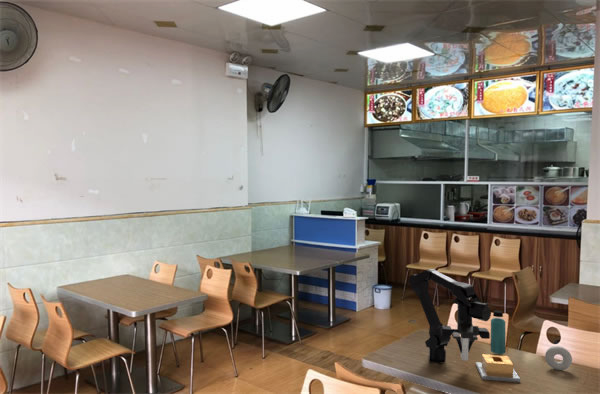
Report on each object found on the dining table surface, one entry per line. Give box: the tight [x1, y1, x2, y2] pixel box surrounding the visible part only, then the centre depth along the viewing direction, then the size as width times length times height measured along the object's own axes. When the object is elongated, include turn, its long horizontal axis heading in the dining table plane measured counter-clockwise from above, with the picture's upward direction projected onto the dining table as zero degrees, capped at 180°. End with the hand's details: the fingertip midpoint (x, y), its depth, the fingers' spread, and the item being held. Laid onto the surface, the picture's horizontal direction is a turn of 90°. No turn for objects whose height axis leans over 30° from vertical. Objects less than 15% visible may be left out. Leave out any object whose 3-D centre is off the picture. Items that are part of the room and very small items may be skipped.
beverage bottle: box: [489, 310, 507, 355], centre depth 209 cm, size 6×7×20 cm
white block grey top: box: [460, 338, 469, 362], centre depth 191 cm, size 2×4×9 cm, turn 169°
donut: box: [544, 345, 573, 371], centre depth 192 cm, size 10×3×10 cm, turn 66°
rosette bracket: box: [475, 353, 521, 383], centre depth 189 cm, size 14×15×6 cm
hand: (464, 352), depth 191 cm, fingers closed on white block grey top, 2 cm apart
